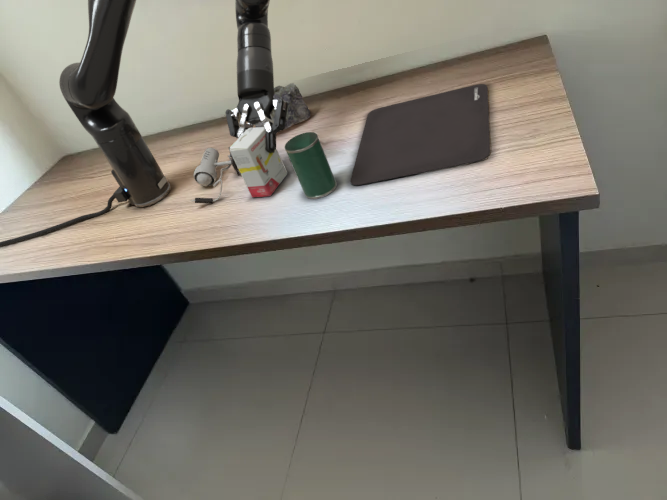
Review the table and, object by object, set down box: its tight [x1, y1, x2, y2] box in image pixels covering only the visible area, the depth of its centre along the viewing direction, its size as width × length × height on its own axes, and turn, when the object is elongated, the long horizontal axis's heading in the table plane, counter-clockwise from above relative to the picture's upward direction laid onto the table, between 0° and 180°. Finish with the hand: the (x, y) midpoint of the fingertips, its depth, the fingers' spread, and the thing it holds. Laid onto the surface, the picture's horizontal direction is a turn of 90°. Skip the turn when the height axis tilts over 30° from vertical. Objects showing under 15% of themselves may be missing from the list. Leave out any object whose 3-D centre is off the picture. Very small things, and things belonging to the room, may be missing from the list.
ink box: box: [229, 127, 288, 198], centre depth 132 cm, size 9×5×12 cm, turn 156°
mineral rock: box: [254, 82, 311, 132], centre depth 154 cm, size 13×11×10 cm
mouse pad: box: [349, 83, 491, 186], centre depth 130 cm, size 32×27×1 cm
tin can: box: [284, 131, 338, 200], centre depth 123 cm, size 7×7×11 cm
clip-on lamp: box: [190, 146, 241, 204], centre depth 142 cm, size 12×6×18 cm
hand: (257, 154), depth 131 cm, fingers closed on ink box, 5 cm apart
